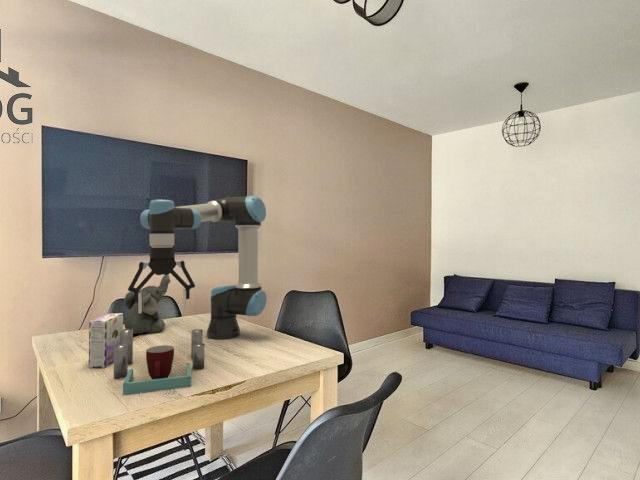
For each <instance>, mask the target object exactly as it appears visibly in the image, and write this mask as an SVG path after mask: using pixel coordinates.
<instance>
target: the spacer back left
mask: <svg viewBox="0 0 640 480" xmlns="http://www.w3.org/2000/svg"><path fill="white" fill-rule="evenodd" d="M203 334H204V333H203V329H201V328H198V329H197V328H196V329H192V330H191V337H190V338H191V343H190V345H191V346H190V347H191V351H190V355H191V356H190V357H191V358H192V345H193V344H197V343H203V336H204V335H203Z"/></svg>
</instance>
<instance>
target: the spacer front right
mask: <svg viewBox="0 0 640 480" xmlns="http://www.w3.org/2000/svg"><path fill="white" fill-rule="evenodd" d="M128 367H129V365H128V344H118V345H115V346H114V362H113V379H115V380H116V379H117V380H119V379H125V378H126V376H127V373H128V371H129V369H128Z"/></svg>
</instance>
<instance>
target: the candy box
mask: <svg viewBox="0 0 640 480" xmlns="http://www.w3.org/2000/svg"><path fill="white" fill-rule="evenodd" d="M88 322H89V327H88V330H89V331H88V333H89V334H88V368H89V369H93V368H94V369H104V368H107V367H108V366H110V365H111V364H114V346H115V345H118V344H120V331H121V330H124V313H123V312H122V313H121V312H118V313H107V314H104V315H101V316H99V317H97V318H94V319H92V320H89V321H88Z"/></svg>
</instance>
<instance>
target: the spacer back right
mask: <svg viewBox="0 0 640 480" xmlns="http://www.w3.org/2000/svg"><path fill="white" fill-rule="evenodd" d="M120 344H128V366H130V365H132V364H133V363H134V362H133V361H134V360H133V358H134V357H133V354H134V353H133V352H134V351H133V350H134V348H133V347H134V346H133V345H134V335H133V329H124V328H123V330H121V331H120Z"/></svg>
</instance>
